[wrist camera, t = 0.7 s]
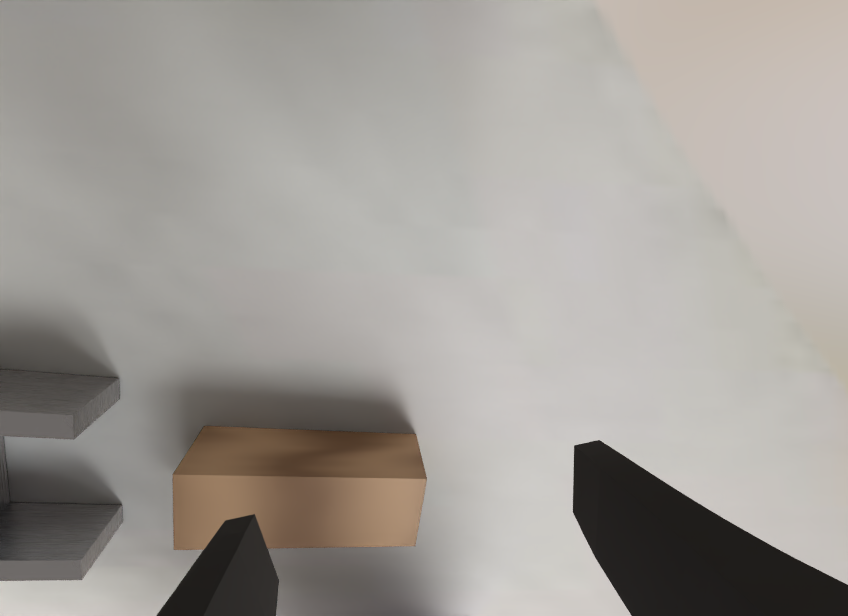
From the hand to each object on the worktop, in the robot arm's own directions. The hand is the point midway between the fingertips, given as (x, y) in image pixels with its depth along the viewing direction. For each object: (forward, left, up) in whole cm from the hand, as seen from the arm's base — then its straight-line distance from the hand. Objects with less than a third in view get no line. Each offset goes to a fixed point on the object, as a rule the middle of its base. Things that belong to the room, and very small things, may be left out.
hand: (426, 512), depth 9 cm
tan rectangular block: (-7, +3, -11) cm, 13 cm away
